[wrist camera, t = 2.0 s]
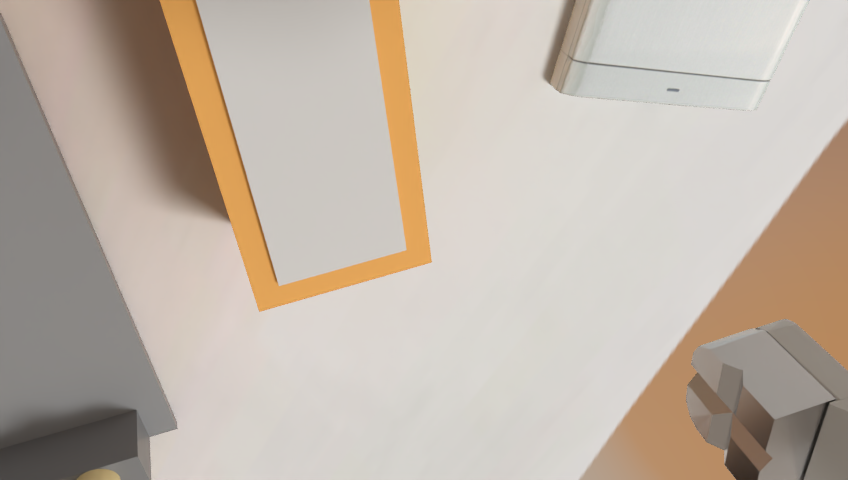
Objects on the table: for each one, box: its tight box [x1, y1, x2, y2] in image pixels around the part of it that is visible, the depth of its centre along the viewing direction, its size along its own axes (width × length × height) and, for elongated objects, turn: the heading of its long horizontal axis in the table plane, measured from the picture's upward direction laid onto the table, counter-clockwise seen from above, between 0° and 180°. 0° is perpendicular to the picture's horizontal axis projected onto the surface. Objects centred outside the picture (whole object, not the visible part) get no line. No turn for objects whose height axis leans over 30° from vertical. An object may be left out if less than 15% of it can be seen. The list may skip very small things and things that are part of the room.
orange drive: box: [160, 0, 432, 312], centre depth 20 cm, size 10×5×5 cm, turn 7°
